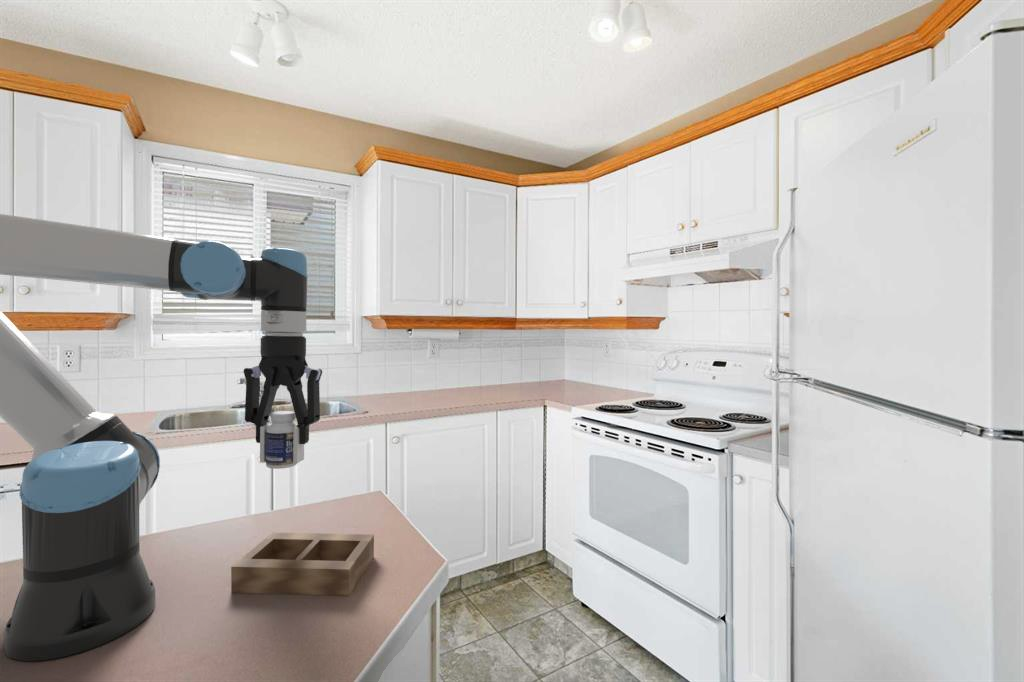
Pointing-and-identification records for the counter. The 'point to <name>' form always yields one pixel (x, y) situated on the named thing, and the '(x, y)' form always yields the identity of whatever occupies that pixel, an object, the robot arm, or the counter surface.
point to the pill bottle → (280, 440)
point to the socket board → (304, 564)
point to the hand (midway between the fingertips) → (282, 460)
